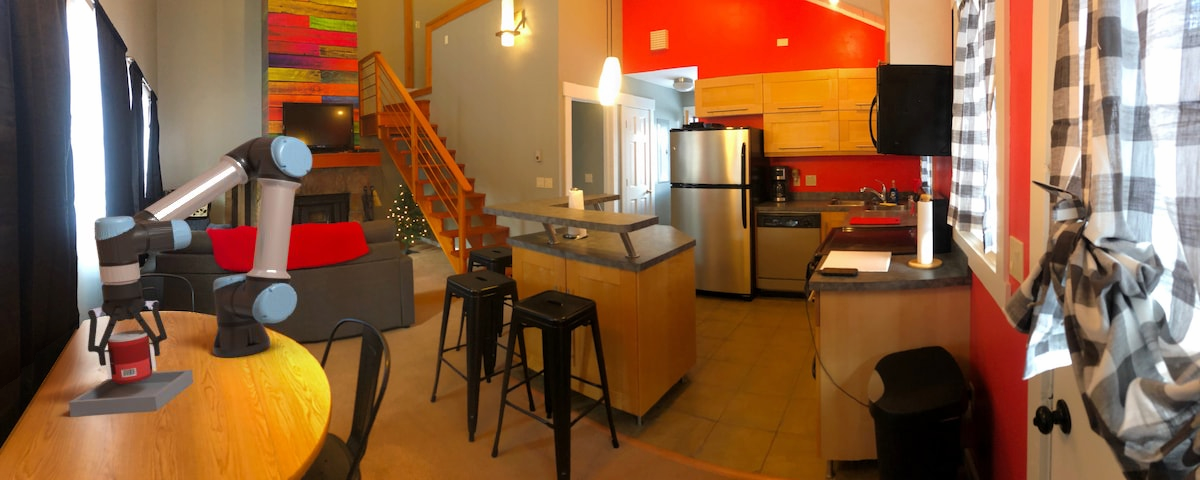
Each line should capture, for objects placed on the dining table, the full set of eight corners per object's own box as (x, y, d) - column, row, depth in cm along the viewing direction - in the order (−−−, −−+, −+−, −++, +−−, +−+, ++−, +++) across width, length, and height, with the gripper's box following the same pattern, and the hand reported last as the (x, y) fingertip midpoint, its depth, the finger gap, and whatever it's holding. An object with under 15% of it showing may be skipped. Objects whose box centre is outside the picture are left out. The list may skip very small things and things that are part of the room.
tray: (193, 382, 164) (191, 369, 163) (156, 410, 146) (155, 396, 146) (117, 387, 161) (115, 374, 160) (70, 417, 143) (68, 402, 143)
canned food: (160, 374, 155) (155, 331, 154) (126, 385, 148) (121, 340, 146) (138, 371, 158) (133, 328, 156) (104, 382, 150) (98, 337, 149)
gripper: (171, 273, 159) (181, 360, 162) (64, 285, 146) (77, 379, 149) (175, 278, 153) (185, 367, 156) (63, 290, 140) (76, 388, 143)
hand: (132, 373), depth 152 cm, fingers closed on canned food, 8 cm apart
